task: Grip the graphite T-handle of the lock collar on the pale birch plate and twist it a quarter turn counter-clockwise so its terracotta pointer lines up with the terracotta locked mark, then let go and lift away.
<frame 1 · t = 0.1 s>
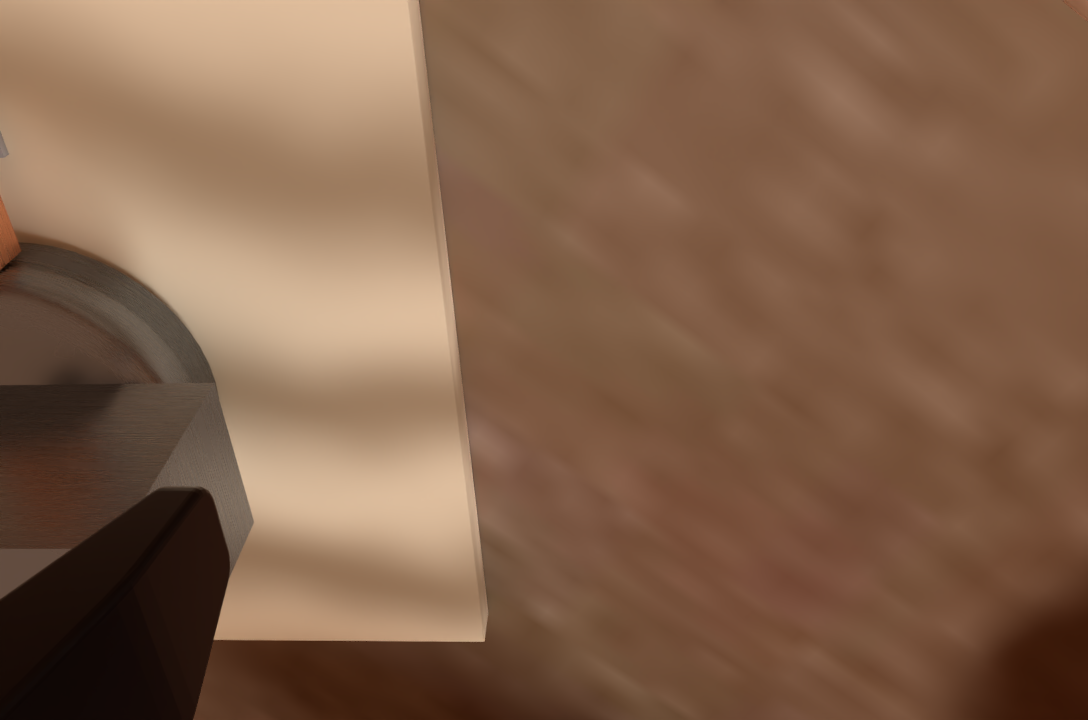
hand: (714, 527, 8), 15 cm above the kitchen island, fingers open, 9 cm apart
lock plate: (89, 352, 25), on the kitchen island
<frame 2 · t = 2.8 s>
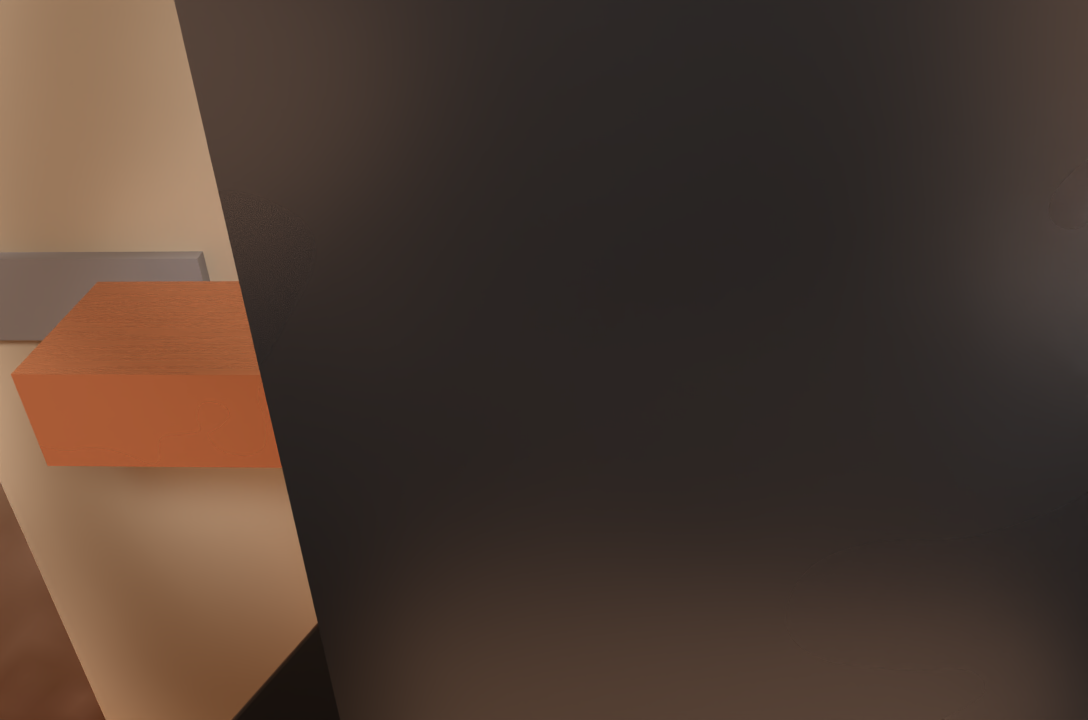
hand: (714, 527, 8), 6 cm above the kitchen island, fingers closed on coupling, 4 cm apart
coupling: (543, 525, 8), point 5 cm above the kitchen island, hinge at 0.0°, touching gripper
lock plate: (672, 249, 13), on the kitchen island
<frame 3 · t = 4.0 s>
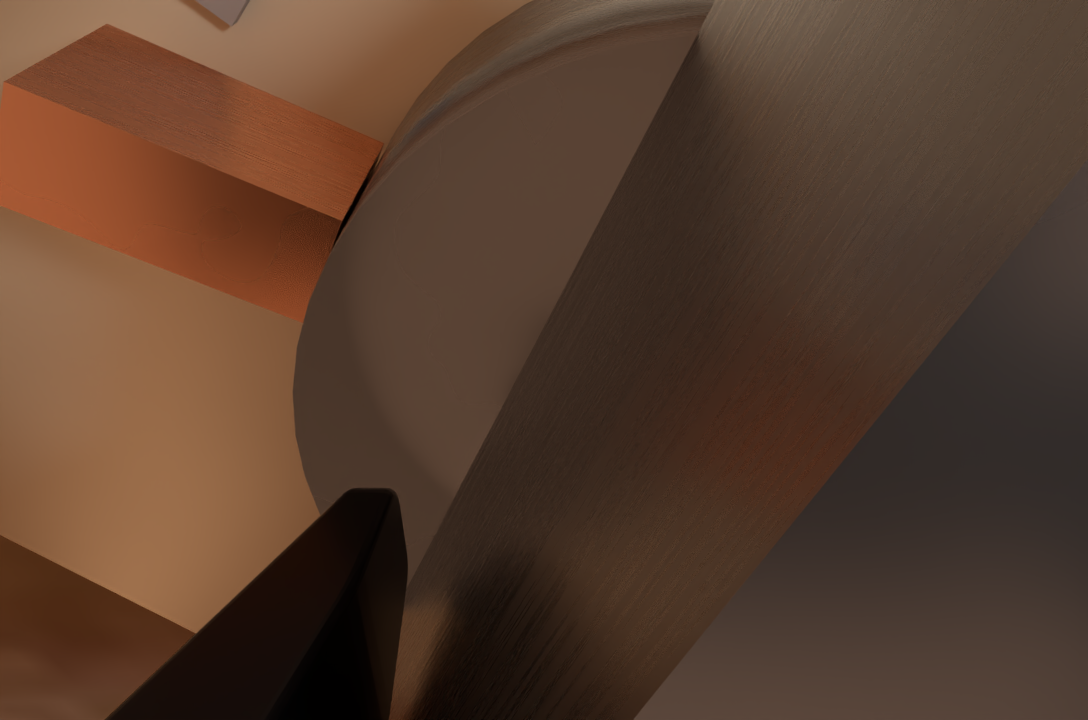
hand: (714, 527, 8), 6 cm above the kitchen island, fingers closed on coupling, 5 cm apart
coupling: (560, 469, 8), point 6 cm above the kitchen island, hinge at 14.1°, touching gripper
lock plate: (674, 249, 13), on the kitchen island
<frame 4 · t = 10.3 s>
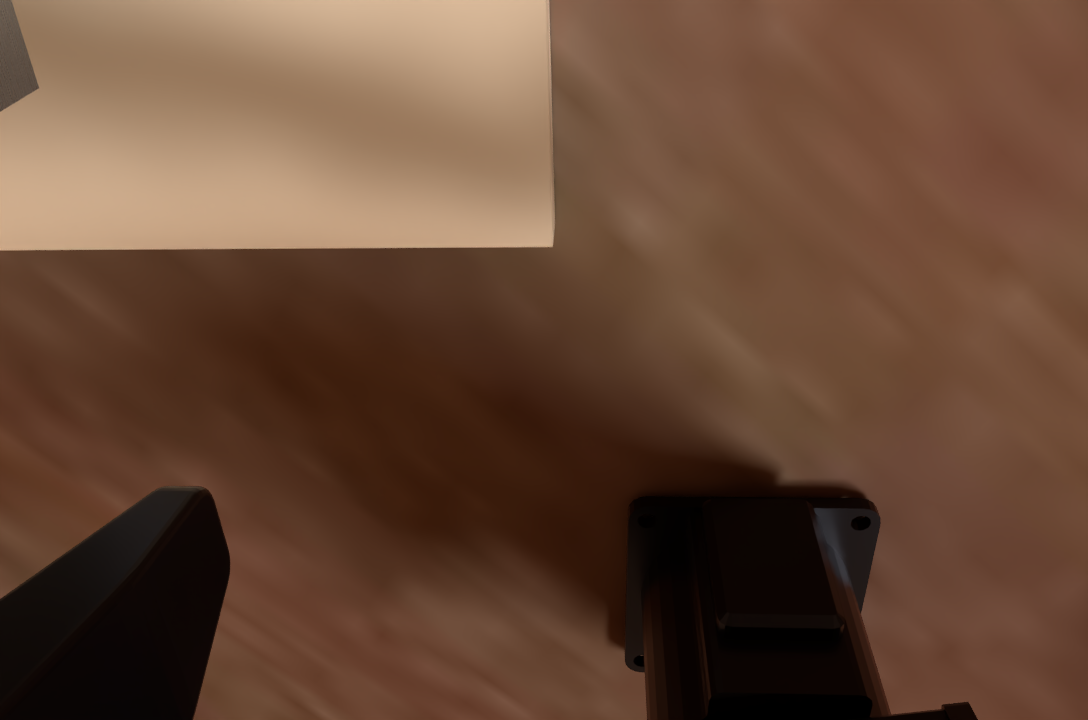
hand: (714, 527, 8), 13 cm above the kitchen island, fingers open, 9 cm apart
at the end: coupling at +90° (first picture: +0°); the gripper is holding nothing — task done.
